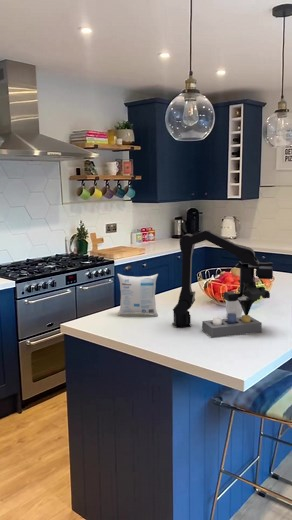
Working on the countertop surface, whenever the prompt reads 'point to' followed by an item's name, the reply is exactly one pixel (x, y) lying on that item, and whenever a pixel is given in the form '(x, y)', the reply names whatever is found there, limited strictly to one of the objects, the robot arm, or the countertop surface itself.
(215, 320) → the white key
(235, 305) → the white cup
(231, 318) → the navy key
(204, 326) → the key block
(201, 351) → the countertop surface
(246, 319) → the ochre key
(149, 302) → the pouch
